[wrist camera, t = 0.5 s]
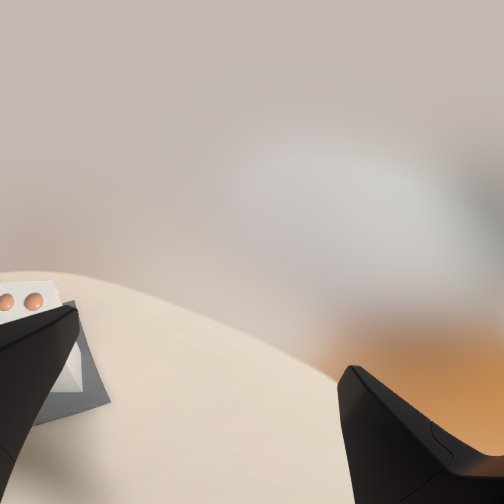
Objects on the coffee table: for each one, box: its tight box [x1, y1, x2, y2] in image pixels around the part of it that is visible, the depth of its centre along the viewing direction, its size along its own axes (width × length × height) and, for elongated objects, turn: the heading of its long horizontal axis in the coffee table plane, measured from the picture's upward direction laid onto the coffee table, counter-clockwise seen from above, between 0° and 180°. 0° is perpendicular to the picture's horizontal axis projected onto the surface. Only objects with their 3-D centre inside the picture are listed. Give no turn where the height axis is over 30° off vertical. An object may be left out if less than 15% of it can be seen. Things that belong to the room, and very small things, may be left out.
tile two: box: [0, 281, 83, 392], centre depth 15 cm, size 4×5×9 cm
